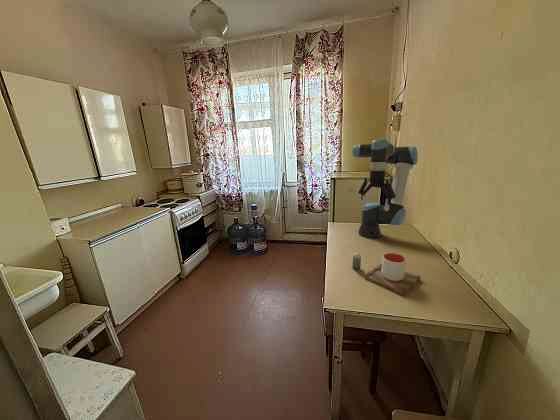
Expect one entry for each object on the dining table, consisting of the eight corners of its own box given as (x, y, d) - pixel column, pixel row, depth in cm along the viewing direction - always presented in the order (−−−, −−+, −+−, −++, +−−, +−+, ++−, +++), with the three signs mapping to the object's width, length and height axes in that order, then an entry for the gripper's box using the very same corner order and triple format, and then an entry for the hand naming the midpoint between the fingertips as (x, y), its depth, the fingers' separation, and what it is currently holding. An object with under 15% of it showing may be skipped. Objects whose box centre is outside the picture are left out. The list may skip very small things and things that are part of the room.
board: (383, 265, 121) (383, 262, 120) (420, 279, 107) (420, 276, 107) (364, 278, 110) (364, 274, 110) (402, 295, 97) (403, 291, 96)
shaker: (355, 265, 122) (356, 250, 120) (361, 268, 119) (362, 253, 117) (350, 268, 120) (351, 253, 117) (357, 271, 117) (358, 255, 114)
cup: (377, 277, 108) (379, 258, 106) (385, 268, 115) (387, 251, 112) (400, 285, 102) (402, 265, 99) (406, 275, 108) (409, 256, 106)
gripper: (353, 169, 127) (351, 205, 133) (398, 171, 108) (394, 213, 114) (360, 168, 132) (359, 203, 137) (405, 170, 113) (401, 210, 118)
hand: (374, 208), depth 126 cm, fingers open, 13 cm apart
